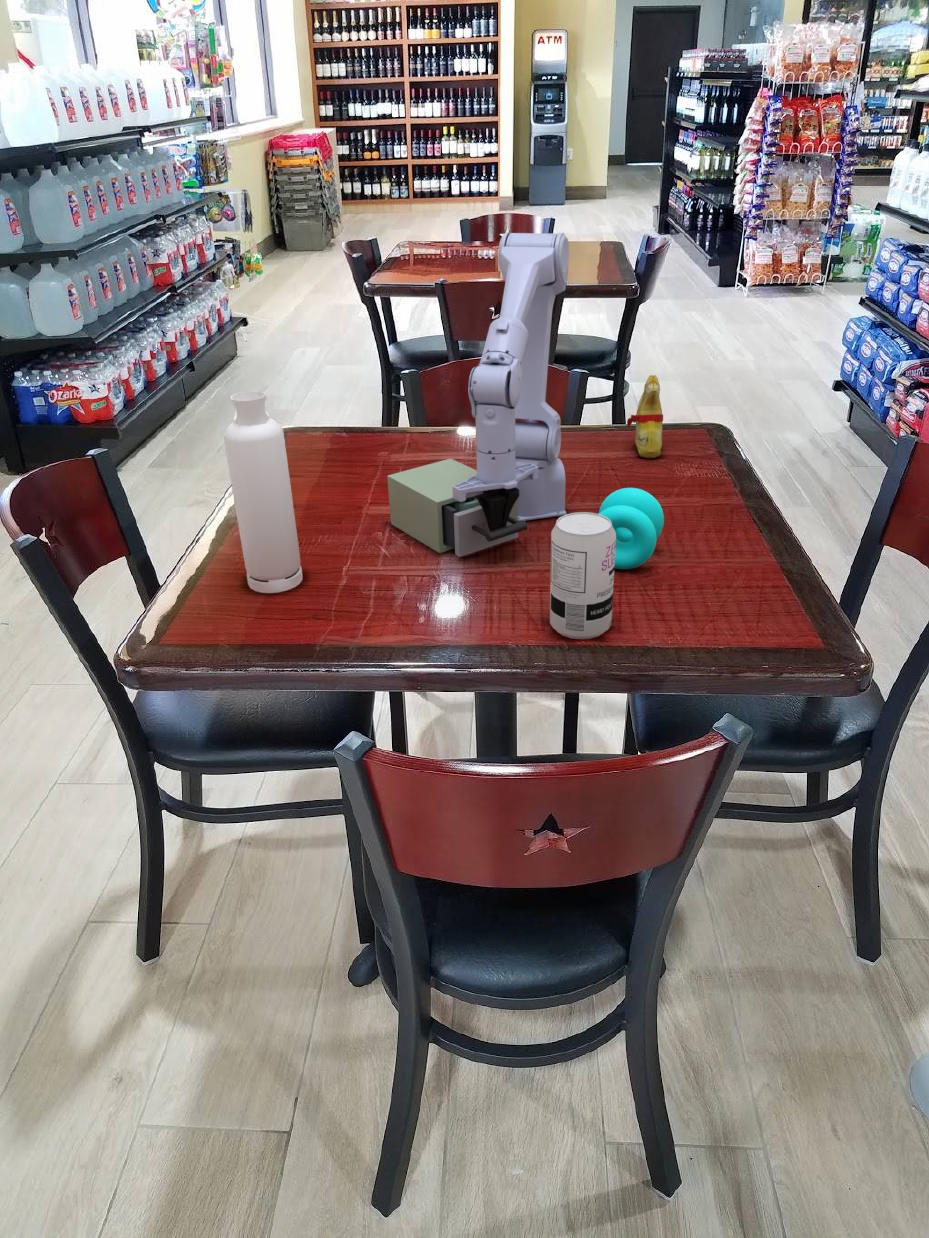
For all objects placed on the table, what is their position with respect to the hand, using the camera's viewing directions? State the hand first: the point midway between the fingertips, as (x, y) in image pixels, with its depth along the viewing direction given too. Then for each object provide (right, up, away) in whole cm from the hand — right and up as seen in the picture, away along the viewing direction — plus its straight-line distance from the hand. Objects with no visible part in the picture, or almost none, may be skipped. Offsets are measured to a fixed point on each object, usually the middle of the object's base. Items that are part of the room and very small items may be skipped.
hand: (497, 533), depth 142 cm
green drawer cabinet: (-8, +2, +12) cm, 14 cm away
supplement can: (+11, -14, -17) cm, 25 cm away
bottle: (-33, -8, -3) cm, 34 cm away
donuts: (+20, -4, 0) cm, 20 cm away
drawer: (-3, 0, +6) cm, 7 cm away
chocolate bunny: (+30, +20, +41) cm, 55 cm away
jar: (-5, +1, +7) cm, 9 cm away
